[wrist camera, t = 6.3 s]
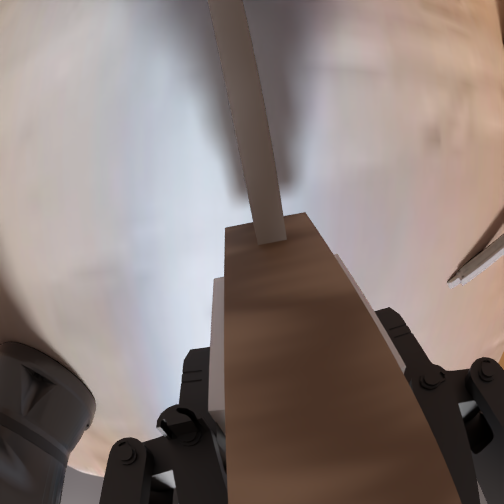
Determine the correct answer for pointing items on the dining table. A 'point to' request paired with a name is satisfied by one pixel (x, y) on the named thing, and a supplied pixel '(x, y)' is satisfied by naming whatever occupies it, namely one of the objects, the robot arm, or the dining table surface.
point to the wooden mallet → (305, 345)
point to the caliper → (478, 263)
